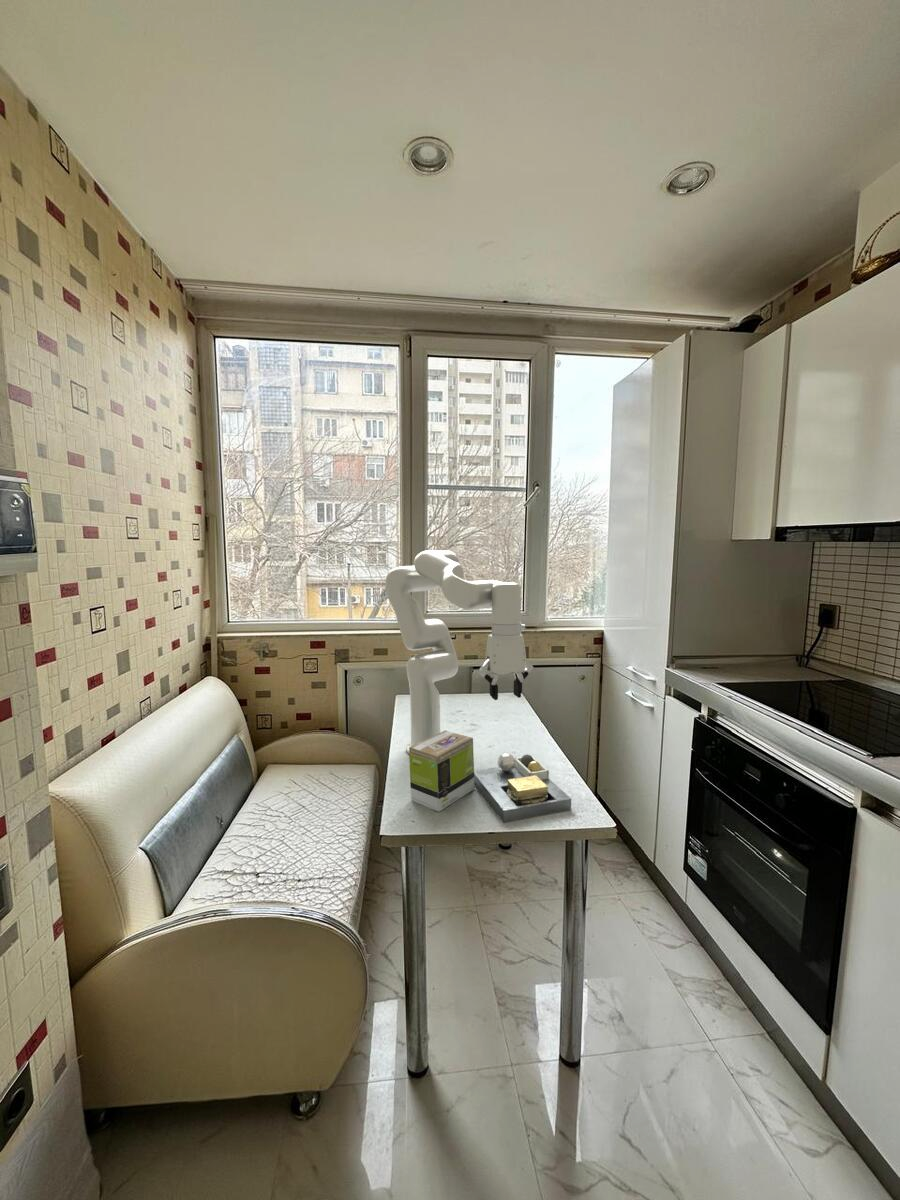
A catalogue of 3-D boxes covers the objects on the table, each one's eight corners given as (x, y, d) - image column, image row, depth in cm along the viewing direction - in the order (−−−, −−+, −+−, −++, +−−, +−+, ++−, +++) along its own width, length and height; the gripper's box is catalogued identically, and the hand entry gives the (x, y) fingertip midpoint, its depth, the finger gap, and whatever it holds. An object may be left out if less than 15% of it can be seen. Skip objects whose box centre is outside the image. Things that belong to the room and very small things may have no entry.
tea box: (446, 779, 139) (446, 728, 137) (475, 790, 133) (475, 737, 131) (409, 800, 127) (408, 745, 126) (438, 813, 121) (438, 755, 120)
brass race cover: (507, 788, 127) (507, 779, 126) (535, 783, 129) (535, 775, 129) (518, 800, 121) (518, 791, 120) (547, 795, 123) (547, 786, 123)
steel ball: (494, 768, 139) (494, 751, 138) (511, 766, 140) (511, 749, 140) (501, 776, 134) (501, 758, 133) (518, 773, 135) (518, 756, 135)
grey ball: (518, 765, 140) (519, 753, 139) (530, 763, 141) (530, 751, 140) (524, 770, 136) (524, 758, 136) (535, 768, 137) (536, 756, 137)
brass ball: (525, 771, 136) (525, 759, 135) (537, 770, 137) (537, 758, 136) (531, 777, 132) (531, 764, 132) (543, 775, 133) (543, 763, 133)
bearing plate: (472, 781, 138) (472, 770, 137) (531, 772, 143) (531, 762, 143) (503, 822, 117) (503, 810, 116) (571, 810, 122) (571, 798, 122)
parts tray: (514, 765, 141) (514, 758, 140) (531, 762, 142) (531, 755, 142) (530, 781, 131) (530, 773, 131) (548, 778, 132) (548, 770, 132)
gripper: (529, 625, 135) (529, 690, 136) (470, 629, 130) (470, 696, 131) (542, 630, 127) (542, 698, 129) (480, 634, 122) (480, 704, 124)
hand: (505, 696), depth 130 cm, fingers open, 5 cm apart
